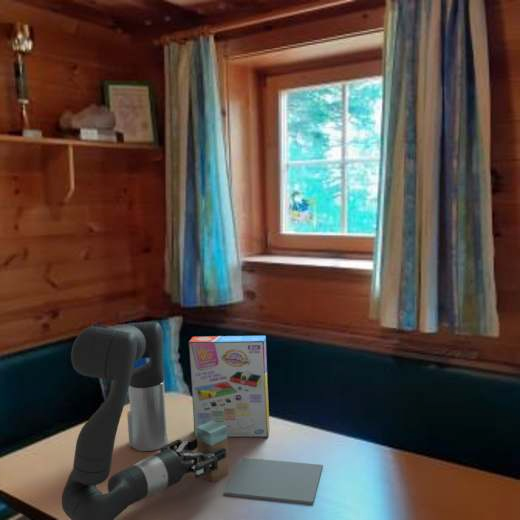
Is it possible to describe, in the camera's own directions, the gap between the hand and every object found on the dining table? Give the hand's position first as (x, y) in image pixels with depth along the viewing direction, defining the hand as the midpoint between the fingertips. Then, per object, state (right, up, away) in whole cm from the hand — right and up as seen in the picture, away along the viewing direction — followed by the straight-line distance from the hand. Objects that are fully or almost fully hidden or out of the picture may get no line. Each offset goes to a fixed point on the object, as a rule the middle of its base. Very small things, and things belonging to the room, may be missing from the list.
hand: (212, 446), depth 132 cm
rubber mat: (+15, -7, -3) cm, 17 cm away
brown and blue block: (0, -7, +1) cm, 7 cm away
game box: (+3, -4, +23) cm, 23 cm away
